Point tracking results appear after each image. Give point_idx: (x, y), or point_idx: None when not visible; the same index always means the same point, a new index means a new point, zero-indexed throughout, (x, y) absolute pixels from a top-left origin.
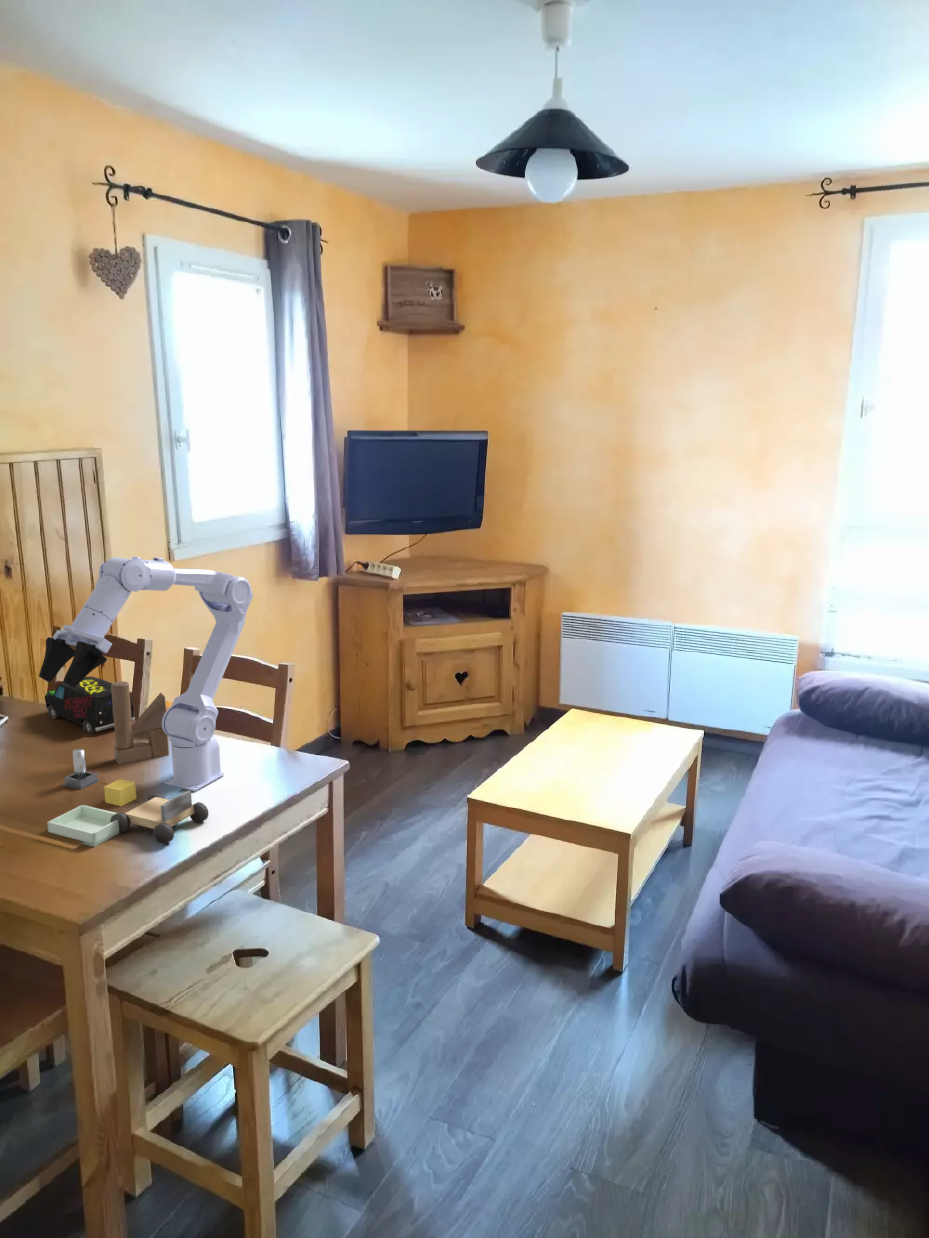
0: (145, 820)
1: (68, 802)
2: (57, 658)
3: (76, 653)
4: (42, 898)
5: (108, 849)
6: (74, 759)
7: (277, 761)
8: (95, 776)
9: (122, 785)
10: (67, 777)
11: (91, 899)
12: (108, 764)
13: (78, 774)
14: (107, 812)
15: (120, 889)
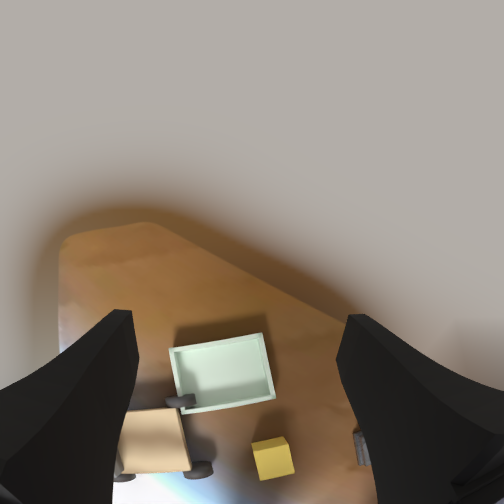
0: (135, 411)
1: (337, 406)
2: (394, 431)
3: (31, 405)
4: (119, 238)
5: (151, 355)
6: None
7: None
8: (364, 462)
9: (267, 463)
10: None
11: (75, 266)
12: None
13: None
14: (217, 405)
15: (65, 296)
